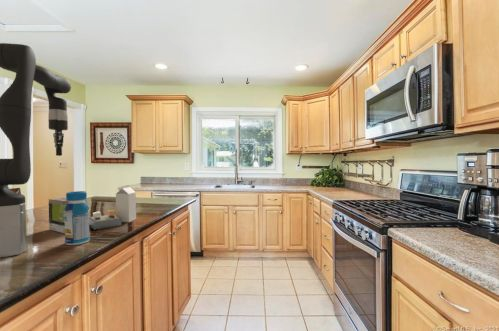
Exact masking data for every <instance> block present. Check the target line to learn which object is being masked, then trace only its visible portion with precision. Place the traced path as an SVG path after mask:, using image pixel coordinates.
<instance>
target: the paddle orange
mask: <svg viewBox="0 0 499 331" xmlns="http://www.w3.org/2000/svg"><path fill="white" fill-rule="evenodd" d="M106 212H107V213H106V215H116V210H114V209H111V210H110V209H107V211H106Z"/></svg>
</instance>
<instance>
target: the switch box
mask: <svg viewBox="0 0 499 331" xmlns="http://www.w3.org/2000/svg"><path fill="white" fill-rule="evenodd" d="M120 226H122V222H121V218H119V217H118V216H116V214H115V215H108V214H105V215H102V216H100V217H96V218H94V217H93V216H89V228H91V229H92V230H93V231H96V229H97V230H102V229H110V228H114V227H120Z"/></svg>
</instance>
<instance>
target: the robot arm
mask: <svg viewBox="0 0 499 331" xmlns="http://www.w3.org/2000/svg"><path fill="white" fill-rule="evenodd" d="M0 68H1V69H3V70H5V71H9V72H12V73H15V77H14V79H13V81H12V83H11V84H10V85H9V86H8V88H7V89H5V91H4V92H3V93H2V94H1V95H0V130H1V131H2V132H3V133H4V135H5V136H6V137H7V139H8V140H9V142H10V144H11V147H12V148H11V149H12V156H13V157H12V158H0V259H1V257H2V258H7V257H11V256H13V257H14V256H17V255H22V253H24V252H26V251H27V250H28V249H27V222H26V221H27V220H26V219H27V217H26V216H27V215H26V197H25V195H24V194H21V193H17V192H16V191H13V190H11V189H10V188H9V186H12V185H13V186H17V185H18V186H19V185H25V184H27V183H28V182H29V180H30V178H31V174H32V173H31V172H32V168H31V167H32V166H31V164H32V163H31V150H30V138H31V137H30V136H31V134H30V133H31V121H32V95H33V94H32V93H33V84H34V82H36V83H38V84H39V85H41V86H43V88H44V91H45V93H46V96H47V100H48V117H47V118H48V119H47V120H48V130H50V131H51V130H52V131H54V133H52V137H53V143H54V147H55V155H56V157H57V156H58V157H60V156H62V155H63V146H64V137H65V134H64V133H63V131H68V129H69V124H68V122H69V121H68V119H69V118H68V109H67V100H66V99H65V98H63V97H59V96H57V95H56V94H68V93H70V92H71V90H72V86H71V83H70V81H69V80H68V79H67V78H65V77H63V76H60V75H58V74H55V73H53V72H51V70H49V69H47V68H46V67H43V66H41V65H37V59H36V55H35V52H34V50H33V49H32V47H30V46H29V45H26V44H22V43H21V44H20V43H9V42H8V43H7V42H2V43H1V42H0Z"/></svg>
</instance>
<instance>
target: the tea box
mask: <svg viewBox="0 0 499 331" xmlns="http://www.w3.org/2000/svg"><path fill="white" fill-rule="evenodd" d="M86 200H87V199H86ZM86 200H85V202H86V203H87V201H86ZM67 204H68V201H67V200H66V196H65V197H57V198H55V197H54V198H48V229H49V230H51V231H54V232H57V233H61V234H65V220H64V215H65V212H64V209H65V207H66V205H67Z"/></svg>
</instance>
